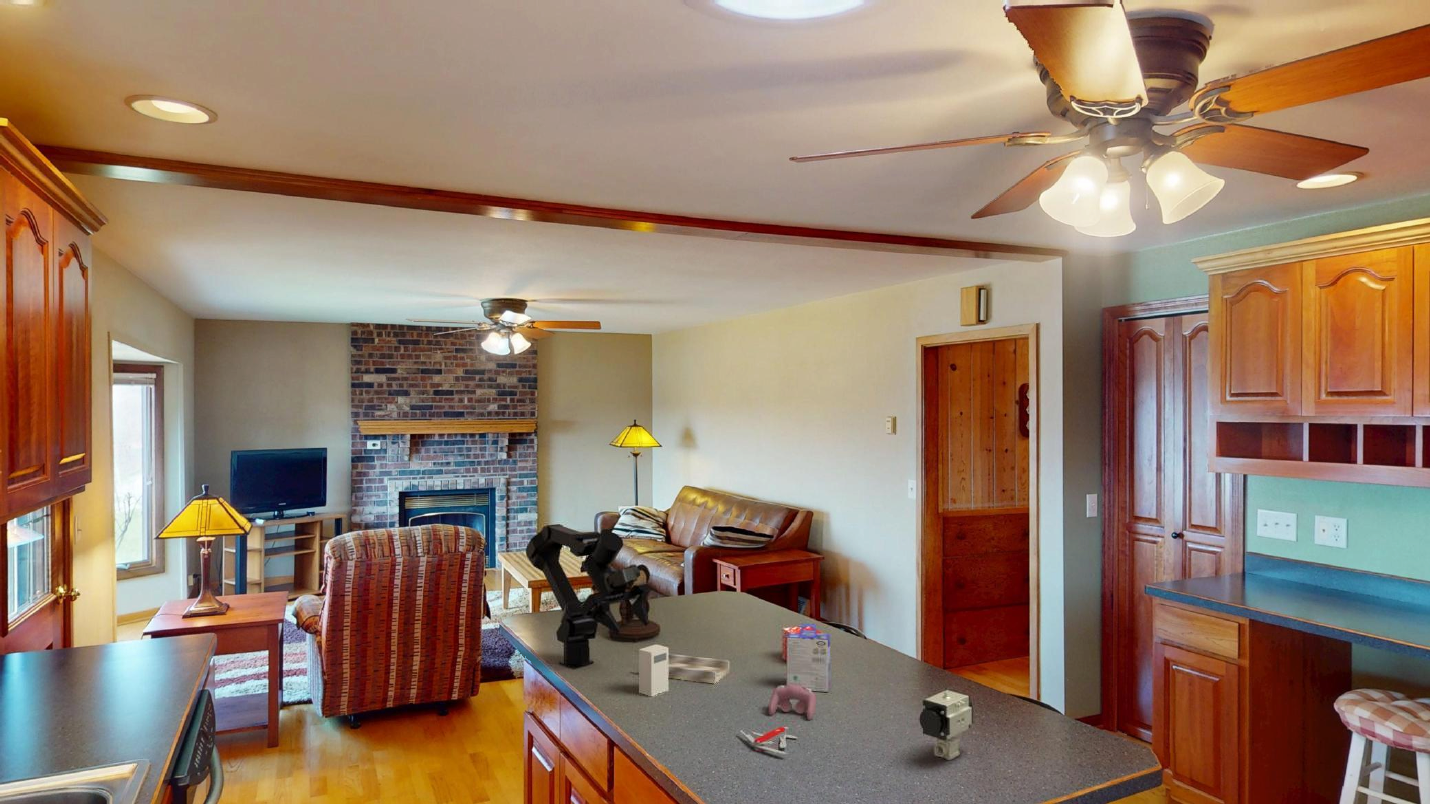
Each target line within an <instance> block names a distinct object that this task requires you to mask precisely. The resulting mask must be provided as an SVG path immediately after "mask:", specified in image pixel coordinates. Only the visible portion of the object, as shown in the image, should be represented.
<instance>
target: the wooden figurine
mask: <svg viewBox="0 0 1430 804" xmlns="http://www.w3.org/2000/svg"><path fill="white" fill-rule="evenodd" d="M636 566H637V567H638V569H639V571H640V577H638V578H637V579H638V580H637V581H633V582H631V583H629V587H628V589H626V590H625V592H629V591H630V589H631V588H632V587H633V586H634V585H636V584H641V583H647V584H648V585H649V581H650V578H651V573H650V570H649V567H648V566H647V565H645V564H639V565H636ZM623 569H627V567H624V568H623ZM623 569H621V570H623ZM650 606H651V605H650V602H649V596H648V597H647V598H646V610H647V615H648V616H649V612H650ZM630 607H631V606H630V605H628V604H627V603H626V601H623V602H619V608H618V611H619V616H620V618H621V620H618V621H616V622H617V624H618V626H619V628H620V633H619V634H617V633H615V632H614V631H612V630H610V629H609V628H608V633H609V637H610V636H612V637H617V638H622V639H623V638H624V639H625V638H626V639H633V641H634V642H635V643H636V642H637V643H638V640H639V639H640V638H649V637H653V636H655V635H656V636H659V635H660V632H661V625H660V624H659V623H657V622H656V621H653V620H649V619H648V620H649V624H648V626H645V625H644V624H643V623H642V622H641V621H640V620H639V619H638V618H637V616H636V615H635V614H634V613H633V612H632V611H631V610H630V609H629V608H630Z"/></svg>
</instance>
